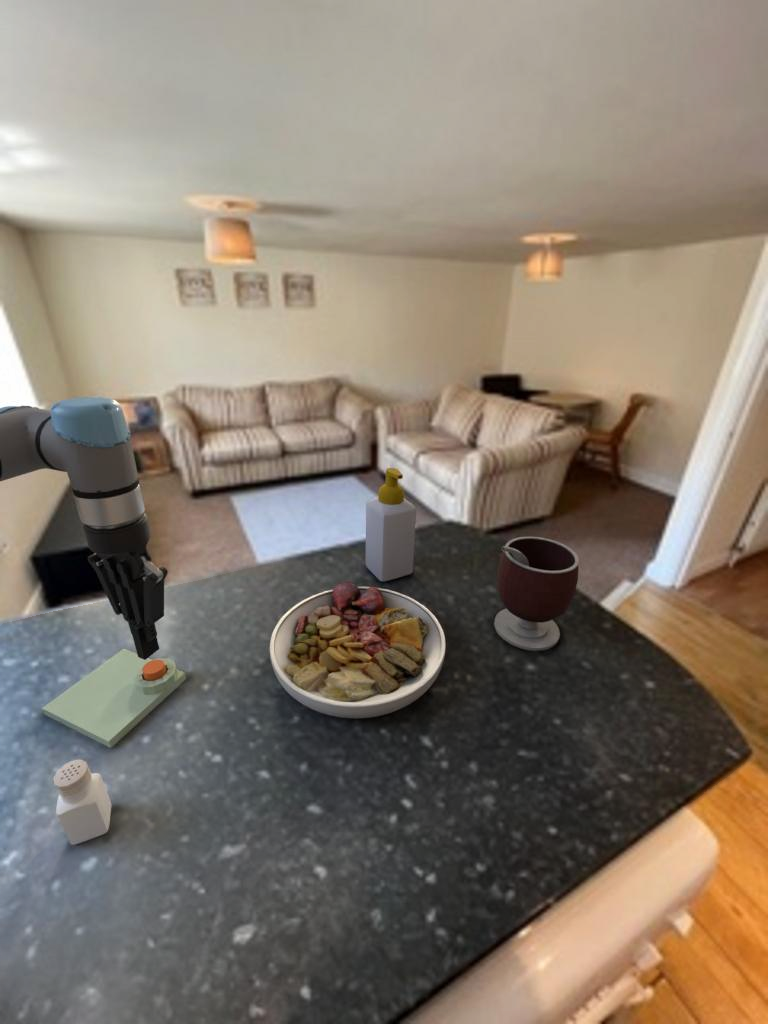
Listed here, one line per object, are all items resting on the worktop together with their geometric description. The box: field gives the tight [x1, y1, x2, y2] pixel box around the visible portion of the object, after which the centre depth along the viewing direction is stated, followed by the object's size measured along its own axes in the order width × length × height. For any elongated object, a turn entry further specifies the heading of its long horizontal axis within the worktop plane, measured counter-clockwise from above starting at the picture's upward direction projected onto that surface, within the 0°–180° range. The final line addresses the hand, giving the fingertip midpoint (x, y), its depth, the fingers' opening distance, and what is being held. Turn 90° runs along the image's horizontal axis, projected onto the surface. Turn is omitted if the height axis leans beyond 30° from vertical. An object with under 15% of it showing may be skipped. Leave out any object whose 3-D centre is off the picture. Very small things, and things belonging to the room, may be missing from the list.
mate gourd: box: [493, 536, 580, 652], centre depth 83 cm, size 16×14×20 cm
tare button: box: [142, 658, 166, 681], centre depth 71 cm, size 3×3×2 cm
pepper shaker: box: [53, 759, 112, 846], centre depth 51 cm, size 4×4×10 cm
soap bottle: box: [365, 467, 417, 583], centre depth 101 cm, size 9×9×25 cm
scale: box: [41, 648, 187, 749], centre depth 70 cm, size 14×14×3 cm
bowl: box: [269, 581, 446, 719], centre depth 78 cm, size 30×30×8 cm
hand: (148, 652), depth 70 cm, fingers closed
